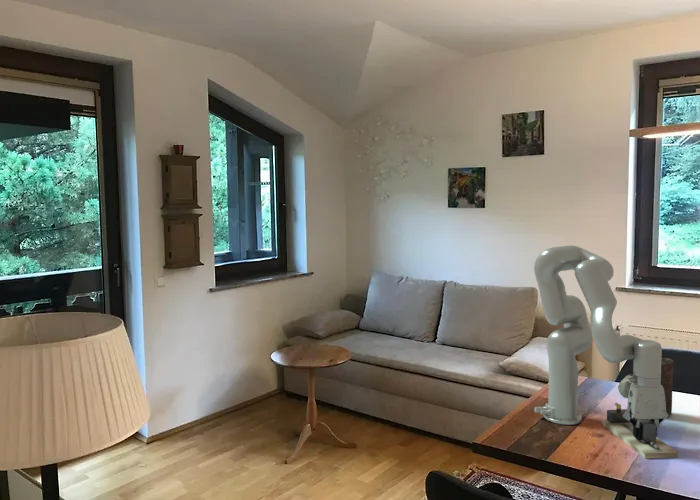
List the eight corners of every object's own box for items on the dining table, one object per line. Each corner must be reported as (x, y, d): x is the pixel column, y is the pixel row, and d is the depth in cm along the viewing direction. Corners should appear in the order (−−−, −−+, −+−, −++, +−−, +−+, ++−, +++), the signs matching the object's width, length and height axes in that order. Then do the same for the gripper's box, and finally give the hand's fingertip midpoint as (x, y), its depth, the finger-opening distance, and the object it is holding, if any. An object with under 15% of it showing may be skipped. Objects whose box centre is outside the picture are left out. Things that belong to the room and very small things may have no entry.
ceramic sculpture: (612, 374, 220) (622, 367, 232) (611, 396, 220) (621, 388, 232) (642, 379, 213) (651, 372, 225) (641, 402, 214) (650, 393, 225)
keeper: (631, 422, 191) (632, 406, 191) (611, 423, 191) (611, 407, 190) (625, 418, 195) (625, 402, 195) (605, 418, 195) (605, 402, 194)
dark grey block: (664, 449, 171) (664, 429, 170) (651, 449, 171) (651, 430, 170) (646, 436, 180) (647, 417, 180) (634, 436, 180) (634, 418, 179)
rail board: (677, 457, 169) (678, 451, 169) (644, 458, 169) (645, 453, 168) (630, 422, 195) (630, 418, 195) (601, 423, 194) (601, 419, 194)
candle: (670, 420, 197) (673, 363, 195) (647, 416, 200) (648, 360, 199) (672, 413, 203) (674, 357, 201) (648, 409, 207) (650, 355, 205)
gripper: (626, 385, 172) (624, 444, 173) (680, 384, 172) (678, 442, 174) (613, 377, 179) (612, 434, 181) (665, 376, 180) (663, 432, 182)
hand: (644, 437), depth 177 cm, fingers closed on dark grey block, 4 cm apart
